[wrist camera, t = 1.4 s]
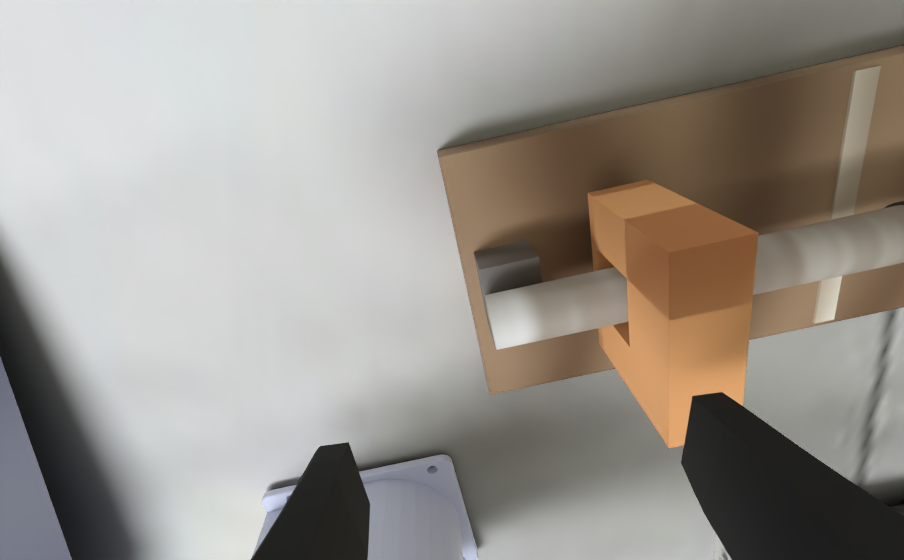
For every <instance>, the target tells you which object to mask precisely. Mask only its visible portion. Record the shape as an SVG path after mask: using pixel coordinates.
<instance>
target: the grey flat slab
mask: <svg viewBox="0 0 904 560" xmlns="http://www.w3.org/2000/svg"><path fill="white" fill-rule="evenodd" d="M0 560H72V558H71V555H70V552H69V550H68V547H67V544H66V541H65V538H64V535H63V533H62V530H61V527H60V524H59V521H58V518H57V516H56V513H55V510H54V507H53V504H52V502H51V499H50V496H49V493H48V490H47V487H46V485H45V482H44V479H43V476H42V473H41V470H40V468H39V465H38V462H37V459H36V456H35V453H34V451H33V448H32V445H31V442H30V439H29V436H28V434H27V431H26V428H25V425H24V422H23V419H22V417H21V414H20V411H19V408H18V405H17V402H16V400H15V397H14V394H13V391H12V388H11V385H10V383H9V380H8V377H7V374H6V371H5V368H4V366H3V363H2V360H1V357H0Z"/></svg>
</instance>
